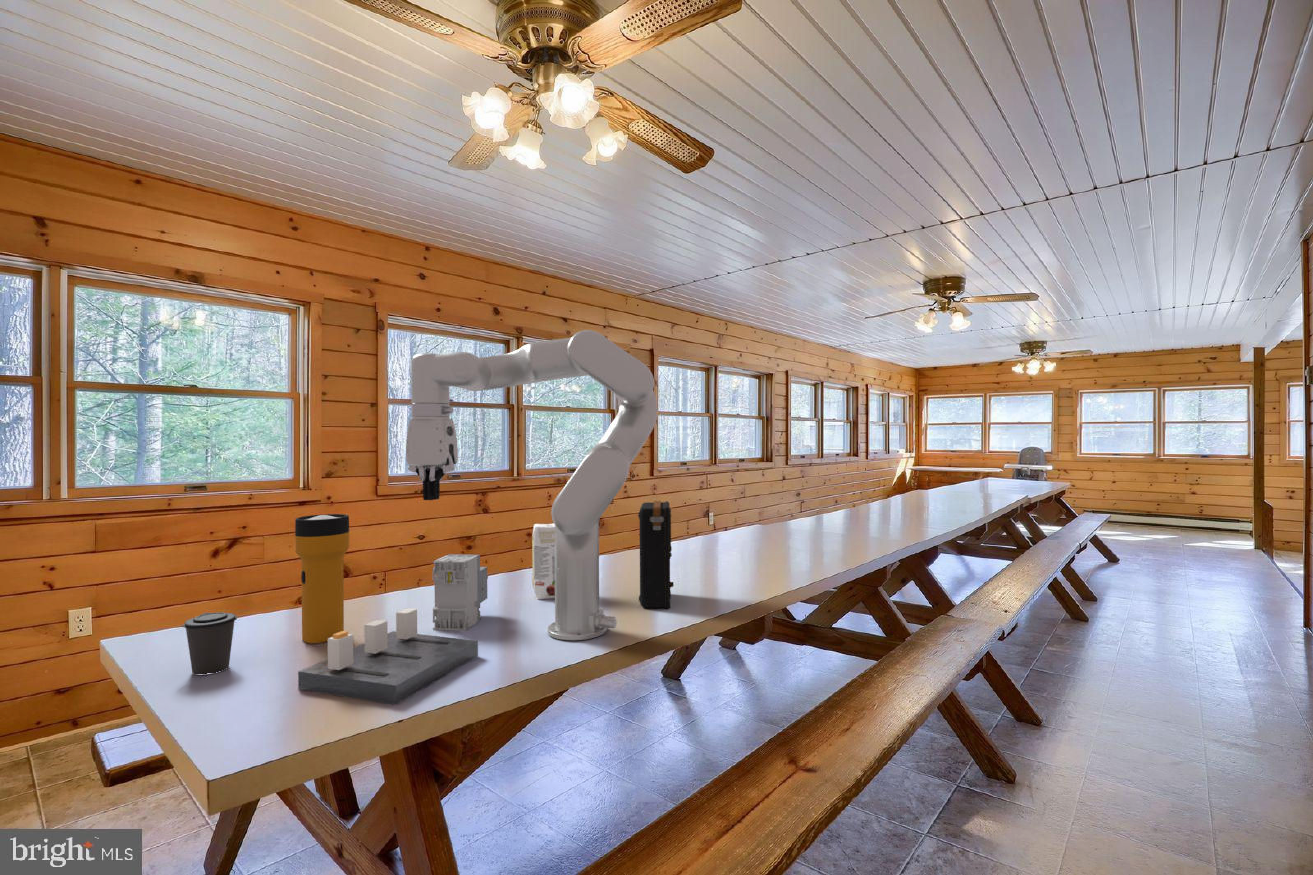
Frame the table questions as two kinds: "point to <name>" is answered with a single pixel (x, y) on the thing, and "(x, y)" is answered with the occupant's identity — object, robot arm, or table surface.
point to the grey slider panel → (391, 668)
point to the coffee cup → (210, 641)
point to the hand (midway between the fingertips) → (431, 499)
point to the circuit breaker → (458, 591)
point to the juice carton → (543, 560)
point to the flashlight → (322, 573)
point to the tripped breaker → (340, 650)
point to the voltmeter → (655, 555)
